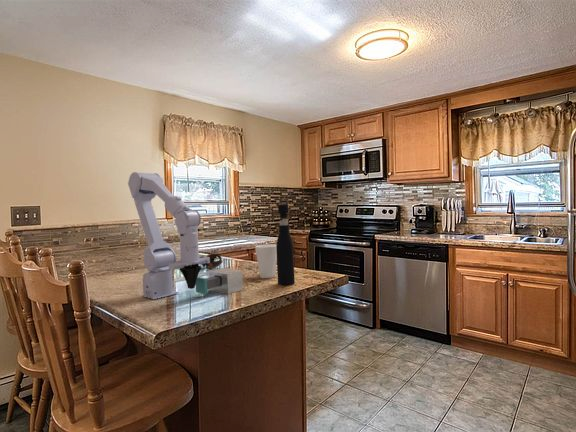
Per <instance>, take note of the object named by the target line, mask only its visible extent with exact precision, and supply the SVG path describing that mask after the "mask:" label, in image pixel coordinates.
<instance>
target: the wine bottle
mask: <svg viewBox="0 0 576 432" xmlns="http://www.w3.org/2000/svg"><path fill="white" fill-rule="evenodd" d="M277 211H278V212H277V214H279V215H280V218H279V225H278V234H277V235H278V236H277V240H276V244H275V245H276V250H277V262H276V273H277V284H278V286H283V287H284V286H285V287H286V286H292V285H295V261H294V259H295V258H294V244H293V239H292V236H291V234H290V225H289V221H288V220H287V219H288V214H289V204H278V205H277Z"/></svg>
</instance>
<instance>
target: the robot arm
mask: <svg viewBox="0 0 576 432" xmlns="http://www.w3.org/2000/svg"><path fill="white" fill-rule="evenodd" d="M127 185H128V188H129V191H130V194H131V197H132V199H133V201H134V205H135V208H136V211H137V215H138V218H139V220H140V224H141V227H142V230H143V233H144V237H145V239H146V242H147V245H146V247H145V249H144V250H143V251H142V254H143V264H144V265H143V266H144V267H145V268H146V270H147V271H148V272H145V273H144V274H143V275H142V291H143V292H142V293H143V294H142V296H141V297H143V296H145V297H144V298H146V297H148V298H147V299H150V298H151V300H158V299H161V297H162V298H165V297H169V296H174V295H178V294H179V292H178V291H176V290H174V282H173V271H175V270H178V269H179V271H180V272H181V274H182V275H183V277H184V280H185V282H186V286H187V289H190V290H192V289H196V280H197V277H199V274H200V273H201V272H200V271H201V269H202V266H201V264H205V263H210V257H207V256H203V258H199V257H200V255H199V254H200V253H199V231H198V227H199V226H200V225H201V222H202V221H201V220H202V217H201V214H200V213H199V211H198V210H197V209H192V208H190V206H188V205H187V204H186V203H185V202H184V201H183V200H182V197H181V196H178V195H173V194H172V193H171V192H170V190H169V189H168V188H167V187H166V185H165V184H164V179H163V177H161V175H160V174H159V173H147V172H138V171H133V172H132V173H131V174H130V175H129V178H128V181H127ZM156 196H157V197H158V198H159V199H160V200H162V202H164V208H165V209H166V211H167V212H169V214H170V216H172V217H173V218H174V224H175V226H176V228H177V233H178V235H179V245H180V247H179V248H180V260H178V261H177V259H178V257H177V254H176V252H175V250H174V249H173V247H172V245H171V244H170V243H168V242H167V241H165V240H164V238H163V235H162V232H161V229H160V226H159V223H158V219H157V216H156V214H155V213H156V212H155V210H154V206H153V205H152V200H153V199H154V198H155V197H156ZM157 298H158V299H157Z"/></svg>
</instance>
